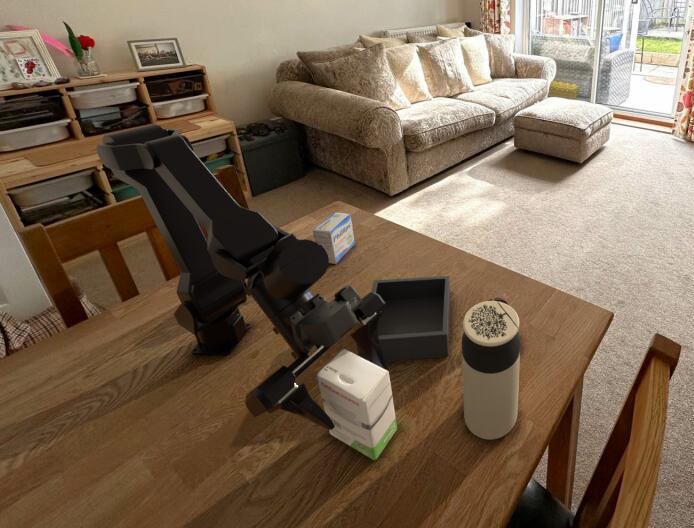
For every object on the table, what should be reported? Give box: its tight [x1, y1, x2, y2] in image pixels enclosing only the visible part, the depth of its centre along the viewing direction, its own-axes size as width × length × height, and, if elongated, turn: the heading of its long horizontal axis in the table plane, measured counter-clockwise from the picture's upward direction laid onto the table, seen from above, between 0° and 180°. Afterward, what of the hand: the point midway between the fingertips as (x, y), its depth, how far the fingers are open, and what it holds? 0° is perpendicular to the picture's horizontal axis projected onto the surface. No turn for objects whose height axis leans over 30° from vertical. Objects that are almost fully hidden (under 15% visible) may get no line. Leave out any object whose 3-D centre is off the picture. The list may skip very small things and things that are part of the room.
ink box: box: [316, 348, 398, 461], centre depth 55 cm, size 9×5×12 cm, turn 65°
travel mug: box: [461, 300, 521, 440], centre depth 57 cm, size 8×8×18 cm
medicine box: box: [312, 212, 356, 265], centre depth 93 cm, size 8×4×9 cm, turn 168°
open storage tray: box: [356, 275, 451, 363], centre depth 74 cm, size 15×15×5 cm
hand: (360, 397), depth 54 cm, fingers open, 9 cm apart
